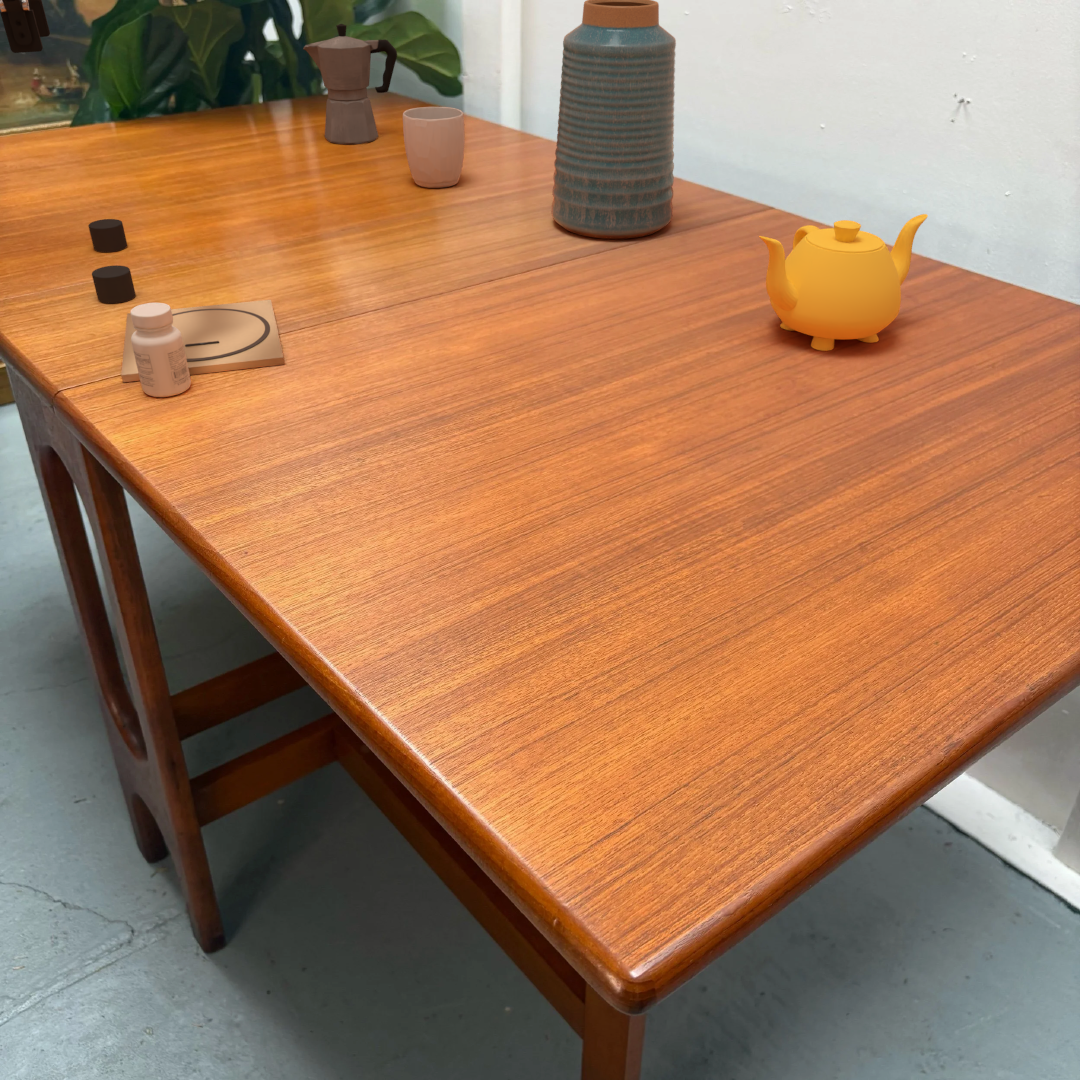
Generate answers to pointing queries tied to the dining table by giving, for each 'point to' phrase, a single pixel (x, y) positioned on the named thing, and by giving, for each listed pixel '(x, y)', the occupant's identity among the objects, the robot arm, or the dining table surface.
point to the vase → (616, 123)
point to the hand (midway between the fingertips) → (32, 43)
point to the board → (219, 338)
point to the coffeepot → (350, 84)
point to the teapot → (839, 281)
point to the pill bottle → (159, 351)
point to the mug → (434, 145)
